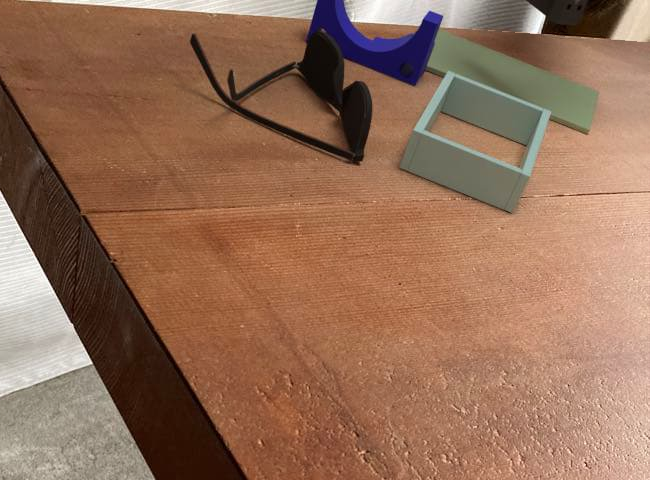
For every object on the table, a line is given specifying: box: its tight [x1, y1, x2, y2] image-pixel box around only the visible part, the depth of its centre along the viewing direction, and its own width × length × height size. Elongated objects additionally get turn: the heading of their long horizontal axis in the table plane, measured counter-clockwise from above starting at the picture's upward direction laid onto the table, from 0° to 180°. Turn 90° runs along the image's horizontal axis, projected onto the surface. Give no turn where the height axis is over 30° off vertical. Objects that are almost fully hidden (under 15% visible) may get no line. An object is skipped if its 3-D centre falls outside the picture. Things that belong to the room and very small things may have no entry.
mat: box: [425, 28, 600, 135], centre depth 106 cm, size 20×12×1 cm, turn 70°
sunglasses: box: [189, 30, 373, 162], centre depth 85 cm, size 17×14×5 cm
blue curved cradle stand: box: [305, 0, 444, 87], centre depth 99 cm, size 12×4×6 cm, turn 70°
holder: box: [398, 71, 551, 214], centre depth 89 cm, size 11×16×4 cm, turn 160°
